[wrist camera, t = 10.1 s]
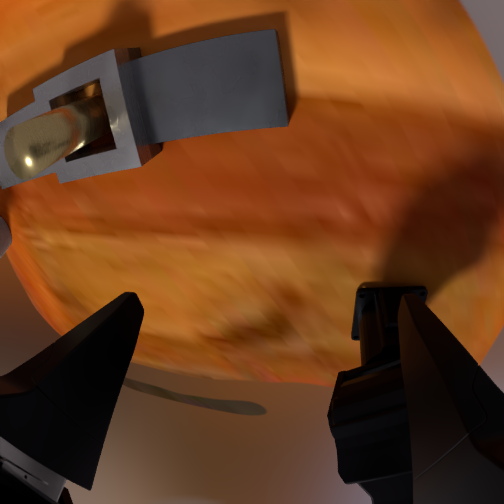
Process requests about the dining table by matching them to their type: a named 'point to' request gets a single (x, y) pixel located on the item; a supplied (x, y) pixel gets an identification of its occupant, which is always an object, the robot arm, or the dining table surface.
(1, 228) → the house plant
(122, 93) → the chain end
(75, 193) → the dining table surface
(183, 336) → the dining table surface
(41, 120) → the brass pin
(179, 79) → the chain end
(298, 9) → the dining table surface
